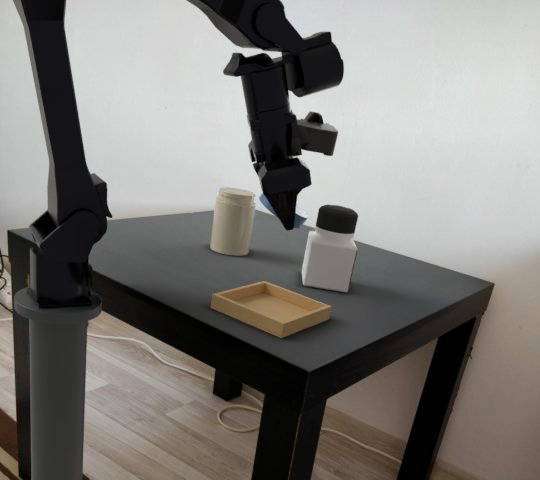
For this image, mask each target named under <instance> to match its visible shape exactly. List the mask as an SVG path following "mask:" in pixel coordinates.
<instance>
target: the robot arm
mask: <svg viewBox="0 0 540 480" xmlns="http://www.w3.org/2000/svg"><path fill="white" fill-rule="evenodd" d="M186 2H188V3H190V4H191V5H193V6H194V7H196V8H197V9H199V10H200V12H202V13H203V14H204V15H205V16H206V17H207V19H208V20H209V21H210V23H212V25H213V27H214V28H216V29H217V30H218V31H219V32H220V33H221V34H222V35H223V36H224V37H225V38H227V39H228V40H229V41H230V42H231V43H232V44H233V45H234V46H236V47H239V48H242V49H256V50H261V51H263V52H260V53H257V54H253V55H249V56H245V54H243V53H242V52H232V53H231V57H230V59H229V61H228V62H227V64H226V65H225V67H224V68H223V70H222V73H223V75H224V76H229V77H234V78H235V77H236V78H238V77H240V81H241V86H242V92H243V98H244V104H245V109H246V120H247V124H248V127H249V132H250V138H251V140H250V142H249V143H248V145H247V147H248V148H247V149H248V153H249V158H250V161H251V163H252V167H253V169H254V171H255V173H256V175H257V177H258V179H259V184H260V189H261V192H262V193H263V194H264V196H265V197H266V199H267V200H268V202H269V203H270V205H271V207H272V208H273V210H274V211H275V213H276V215H277V216H278V218H277V219H278V220H279V221H280V223H281V224H282V226H283V228H284V230H285V231H293V230H294V229H295V228H294V222H295V212H296V204H297V201H298V195H299V194H300V193H301V192H302V191H303V189H306V188H309V187H310V186H312V184H313V183H312V176H311V169H310V168H309V166H308V165H307V163H306V161H304V160H302V158H299V157H300V156H302V155H303V151H306V152H313V153H319V154H322V155H323V156H327V157H333V156H334V154H335V153H334V152H335V148H336V144H337V140H338V136H339V130H338V129H337V128H336V127H335V126H334V125H331V124H330V123H328V122H326V123H324V118H323V115H322V114H321V113H320V112H316V111H311V110H310V111H309V112H308V113H307V115H306V116H305V117H304V118H299V119H298V118H297V115H296V114H295V113H294V111H293V109H292V107H291V106H292V105H291V99H290V94H289V93H290V92H291V93H292V94H293V95H294V96H295V97H297V98H303V97H307V96H310V95H313V94H317V93H321V92H324V91H327V90H330V89H331V90H332V89H333V88H334V89H335V88H337V87H339V86H340V85H341V83H342V81H343V78H344V73H345V64H344V60H343V58H342V56H341V53H340V51H339V49H338V47H337V44H335V42H333V37H332V32H331V31H319V32H315V33H313V34H311V35H309V36H306V37H302V36H301V34H300V33H299V32H298V30H297V29H296V28H295V27H294V26H293V24H292V23H291V21H289V19H288V18H287V16H286V12H285V5H284V3H283V2H282V1H281V0H186ZM12 3H13V4H14V7H15V9H16V11H17V14H18V16H19V19H20V21H21V23H22V26H23V30H24V36H25V41H26V46H27V52H28V58H29V61H30V67H31V73H32V77H33V83H34V88H35V93H36V99H37V103H38V110H39V115H40V120H41V125H42V130H43V136H44V141H45V146H46V152H47V156H48V175H47V176H48V177H47V185H46V186H47V190H46V192H47V209H45V211H44V212H43V213H41V214H40V215H39V217H37V218H36V219H35V220H34V221H32V222H31V223H30V224H29V226H28V228H29V231H30V234H31V237H32V239H33V242H35V244H36V245H37V246H36V247H29V284H30V285H29V286H27V287H28V288H27V287H26V288H27V293H28V294H29V296H30V297H31V298H32V300H33V301H34V303H35V304H36V305H37V307H38V308H40V309H47V308H64V307H80V306H91V305H92V301H91V300H90V299H89V298H88V297H90V296H91V295H92V291H93V266H92V264H90V263H89V261H90V260H89V257H90V254H91V252H92V250H93V247H94V245H95V244H97V243H98V242H99V241H101V239H102V238H103V237H104V235H106V234H107V231H108V218H109V219H113V214H112V213H111V210H110V208H109V203H108V184H107V182H106V181H105V180H104V179H102V177H100V176H99V175H98V174H96V173H95V172H93V173H91V172H90V169H89V166H88V164H87V160H86V153H85V147H84V141H83V135H82V128H81V122H80V115H79V109H78V104H77V103H78V102H77V97H76V90H75V85H74V78H73V73H72V72H73V71H72V66H71V65H72V64H71V59H70V53H69V46H68V41H67V36H66V35H67V34H66V29H65V26H66V25H65V21H66V19H65V18H66V11H67V9H66V8H67V0H12ZM266 52H275V53H280V54H281V56H277V57H273V58H272V57H271V56H270V55H269V54H268V53H266ZM298 156H299V157H298Z"/></svg>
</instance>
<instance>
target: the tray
mask: <svg viewBox="0 0 540 480" xmlns="http://www.w3.org/2000/svg"><path fill="white" fill-rule="evenodd" d="M210 309H212V310H214V311H217V312H219V313H221V314H223V315H226V316H228V317H231V318H233V319H235V320H237V321H240V322H242V323H244V324H247V325H249V326H252V327H254V328H255V329H259V330H261V331H264V332H266V333H268V334H270V335H272V336H275V337H278V338H279V339H283V338H286V337H288V336H291V335H294V334H296V333H299V332H300V331H303V330H305V329H308V328H310V327H313V326H316V325H318V324H322V323H323V322H326V321H328V320H330V315H331V311H332V305H329V304H326V303H325V302H321V301H318V300H316V299H313V298H311V297H307V296H305V295H303V294H300V293H297V292H295V291H293V290H289V289H287V288H284V287H282V286H280V285H277V284H274V283H271V282H269V281H266V280H263V281H259V282H255V283H251V284H247V285H243V286H238V287H234V288H232V289H227V290H223V291H218V292H215V293H212V295H211V303H210Z"/></svg>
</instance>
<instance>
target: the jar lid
mask: <svg viewBox="0 0 540 480" xmlns="http://www.w3.org/2000/svg"><path fill="white" fill-rule="evenodd" d="M258 200H259V202H260V203H261V204H262V206H263V207H265V209H266V210H268V211H269V212H270V213H271V214H272V215H274V216H275V218H277V219H279V218H278V216H277V215H276V213H275V211H274V210H273V208H272V207H271V205H270V203H269V202H268V200H267V199H266V197H265V196H264V194H263V192H262V193H260V195H259V197H258ZM308 219H309V216H308V213H306V212H305V210H304V209H303V208H302V207H301V206H300V205H299V204H298V203H296V212H295V222H294V229H298V230H300V229H301V228H302V227H303V225H304V224H305V223H306V221H307V220H308Z"/></svg>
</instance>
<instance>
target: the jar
mask: <svg viewBox="0 0 540 480" xmlns="http://www.w3.org/2000/svg"><path fill="white" fill-rule="evenodd" d="M255 198H256V193H254V192H253V191H251V190H246V189H242V188H237V187H229V186H228V187H227V186H225V187H219V190H218V196H217V197H215V203H214V210H213V219H212V227H211V235H210V244H209V249H211V250H212V251H213V252H216V253H218V254H222V255H226V256H233V257H242V256H243V257H244V256H247V255H249V254H250V247H251V240H252V233H253V227H254V221H255V214H256V205H257V204H256V203H255Z"/></svg>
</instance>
